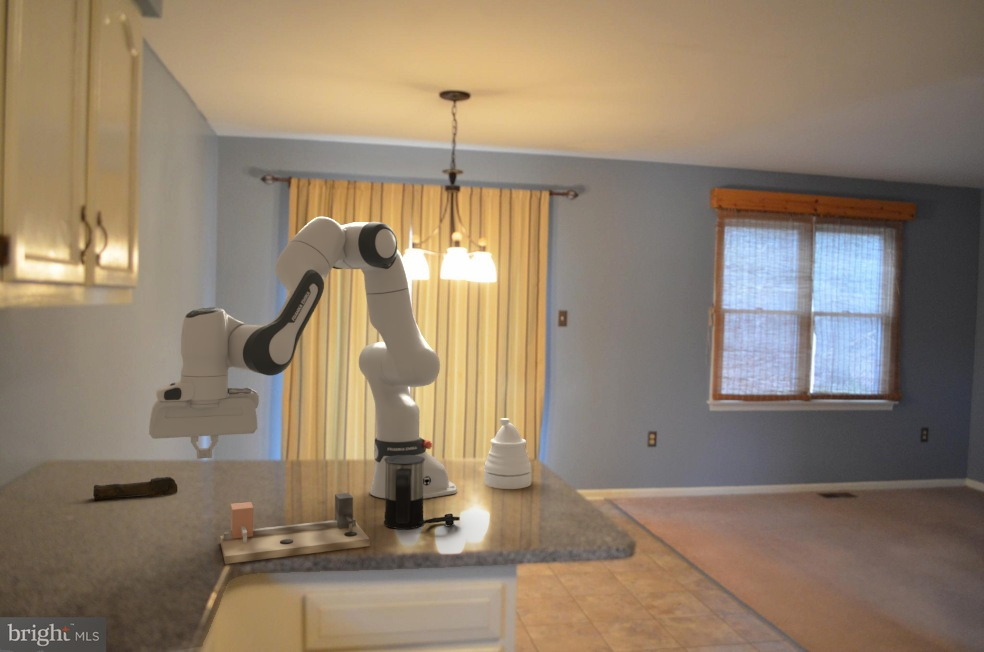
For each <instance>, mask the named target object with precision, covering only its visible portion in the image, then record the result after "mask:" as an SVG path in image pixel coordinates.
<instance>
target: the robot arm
mask: <svg viewBox="0 0 984 652" xmlns="http://www.w3.org/2000/svg"><path fill="white" fill-rule="evenodd" d="M398 247H399V245H398V240H397V235H396V234H395V232H394V230H393V229H392V227H390V225H388V224H386V223H385V222H378V221H369V222H365V221H360V222H359V221H358V222H351V223H347V224H346V223H345V224H342V225H341V224H340V223H338V222H337V221H335V220H334V219H332V218H330V217H326V216H317V217H314V218H313V219H311V220H310V221H309V222H308V223H307V224H305V225H304V226H303V227H302V228H301V229H300V230H299V231H298V232H297V233H296V234H295V235H294V236H293V237H292V239H291V240H290V241H289V242H288V243H287V245H286V246H285V247H284V249H282V251H281V253H280V254H279V256H278V258H277V260H276V263H275V272H276V276H277V279H278V280H279V282H280V283H281V284H282V285H283V287H285V289H286V290H287V291H288V292H289V294H288V296H287V297H286V299H285V301H284V302H283V305H282V306H281V308H280V310H279V311H278V312H277V315H276V317H275V318H274V319H273V320H271V321H269V322H267V323H264V324H250V323H245V322H243V321H240V320H238V319H236V318H234V317H233V316H231V315H230V314H228V313H227V312H226V311H225V309H223V308H222V307H214V306H213V307H206V308H205V307H202V308H198V309H193V310H192V311H189V312H188V313H186V314H185V316H184V318H183V321H182V327H181V334H180V354H181V359H182V368H181V370H180V380H179V381H176V382H172V383H169V384H166V385H162V386H160V387H158V388H157V390H156V392H155V395H156V399H157V400H156V401H155V402H154V404H153V405H152V408H151V413H150V418H149V425H148V426H149V428H148V429H149V430H148V431H149V432H148V435H149V436H150V437H151V438H152V439H155V440H157V439H174V438H190V443H191V445H192V447H193V448H194V450H195V451H196V455H195V457H196V459H197V460H198V459H200V460H201V459H213V450H214V448H215V446H216V445H217V443H218V442H219V436H230V435H231V436H233V435H249V434H255V432H256V431H257V430H258V418H257V411H256V409H257V408H258V407H259V404H260V403H259V401H260V399H259V394H258V392H257V391H255V390H254V389H252V388H250V387H244V388H238V387H237V388H236V387H234V388H233V387H231V388H229V369H232V370H240V371H245V372H253V373H256V374H257V373H258V374H261V375H263V376H264V375H265V376H269V377H270V376H276V375H279V374H281V373H282V372H284V371H285V370H286V369H287V368H288V367H289V366H290V365H291V363H292V362H293V359H294V356H295V353H296V349H297V346H298V343H299V340H300V337H301V336H302V334H303V332H304V330H305V328H306V326H307V324H308V322H309V321H310V319H311V318H312V316H313V313H314V312H315V310H316V309H317V306H318V304H319V302H320V300H321V299H322V295H323V293H324V289H325V279H326V278H327V277H328V275H329V273H330V272H331V270H332V269H335V270H343V269H345V270H360V271H361V272H362V274H363V278H364V289H365V290H364V291H365V297H366V303H367V309H368V316H369V321H370V324H371V325H372V327H373V329H375V330H376V331H377V332H378V334H379V335H380V336H381V339H382V341H378V342H373V343H369V344H368V345H366V346H365V347H364V348H362V350H361V351H360V354H359V355H358V356H359V358H358V367H359V370H360V372H361V374H362V375H363V376H364V377H365V379H366V380H367V382H368V384H369V387H370V391H371V393H372V397H373V400H374V405H375V407H374V408H375V416H376V417H375V418H376V420H375V421H376V424H375V425H376V437H375V439H374V444H373V445H374V446H373V448H374V451H373V453H374V454H373V455H374V461H375V462H374V463H375V464H374V472H373V479H372V483H371V486H370V490H369V495H372V496H373V497H376V498H380V499H385V473H386V462H385V461H384V459H385V458H387V457H389V456H395V455H416V456H421V457H424V458H425V460H424V465H423V500H424V499H429V498H430V499H431V498H435V497H441V496H442V497H443V496H448V495H453V494H455V495H456V493H457V492H458V490H457V489H458V488H457V486H456V484H455V483H454V482H452V481H451V480H449V476H448V475H449V474H448V470H447V469H446V466H445V465H444V464H443V463H442V462H440V461H439V460H438V459H437V458H436V457H434V456H433V455H431V454H430V453H428V451H427V450H430V449H432V448H433V442H432V441H430V440H428V439H425V438H422V437H420V407H419V405H418V404H417V402H415V400H414V399H413V397H412V395H411V393H410V390H409V388H419V387H426V386H430V385H431V384H432V383H434V382H435V381H436V379H437V378H438V376H439V374H440V371H441V363H440V361H441V360H440V358H439V355H438V354H437V353H436V351H435V350H433V348H431V346H430V345H429V344H428V342H426V340H425V338H424V336H423V335H422V332H421V330H420V328H419V326H418V324H417V321H416V318H415V314H414V308H413V303H412V297H411V291H410V284H409V277H408V273H407V269H406V265H405V263H404V262H405V261H404V258H403V257H402V256H403V255H401V252H400V251H399V250H398ZM199 437H209V439H210V441H211V443H210V444H209V446H208V447H204V448H201V447H200V446H199V445H198V443H197V442H199Z"/></svg>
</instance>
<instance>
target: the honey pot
mask: <svg viewBox="0 0 984 652" xmlns="http://www.w3.org/2000/svg"><path fill="white" fill-rule="evenodd" d="M499 419H500V420H499V421H500V424H501V427H500V428H499V429H498V431H497V433H496V434H495V436H494V438H491V439H490V442H489V443H490V444H491V447H490V449H489V450H488V455H487V457H486V461H485V463H484V471H483V472H484V473H483V475H484V479H483V480H484V481H483V484H484V485H485V486H488V487H489V488H494V489H500V490H502V489H504V490H516V489H517V490H518V489H523V488H527V487H529V486H531V485H532V463H531V462H530V457H529V455H528V454H529V452H528V451H527V449H526V445H527V440H526V439H524V438H523V437H522V436H521V433H520V431H519V430H518V428H517V427H516V426H515V425H514V424H513V423H511V422H510V421H511V419H510V418H507V417H506V418H505V417H502V418H499Z"/></svg>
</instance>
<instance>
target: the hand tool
mask: <svg viewBox="0 0 984 652" xmlns="http://www.w3.org/2000/svg"><path fill="white" fill-rule="evenodd" d="M173 494H178V484H177V482H176V480H175V479H174V478H172V477H171V476H165V477H155V478H150V480H149V481H144V482H143V481H141V482H131V483H112V484H111V483H110V484H103V485H99V484H94V485H93V497H94V498H93V500H94V501H98V500H101V501H102V500H104V499H112V498H122V497H125V498H126V497H136V496H151V497H162V495H163V496H169V495H173Z"/></svg>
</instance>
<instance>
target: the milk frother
mask: <svg viewBox="0 0 984 652" xmlns="http://www.w3.org/2000/svg"><path fill="white" fill-rule="evenodd" d="M424 460H425V458H424V457H421V456H416V455H395V456H389V457H387V458H385V459H384V461H385V462H386V473H385V498H384V502H385V503H384V504H385V505H384V520H383V525H384V526H386V527H388V528H392V529H399V530H400V529H401V530H402V529H403V530H404V529H405V530H407V529H414V528H419V527H421V526H423V525H425V524H434V523H435V524H436V523H444V524H445V527H450V526H454V524H455V523H454V522H455V521H457V522H458V521H460V518H461V517H460V516H454V515H453V513H446V514H445V513H444V515H443V516H440V517H432V518H427V519H424V499H423V465H424Z"/></svg>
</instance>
